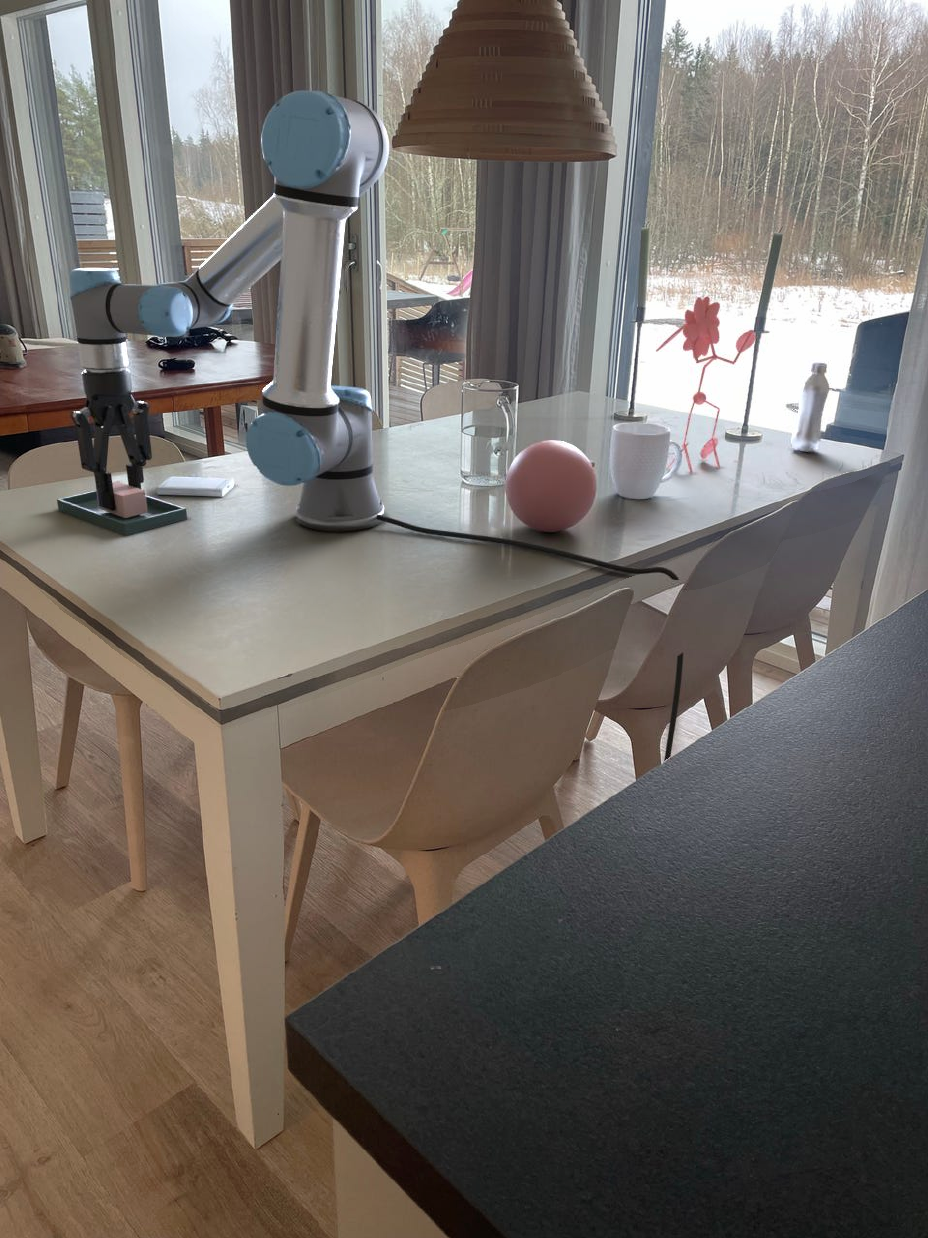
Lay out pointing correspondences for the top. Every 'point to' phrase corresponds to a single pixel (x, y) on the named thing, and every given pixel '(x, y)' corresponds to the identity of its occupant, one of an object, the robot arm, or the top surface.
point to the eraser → (126, 500)
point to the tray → (155, 517)
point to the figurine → (699, 338)
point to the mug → (641, 458)
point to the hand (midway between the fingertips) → (123, 504)
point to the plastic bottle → (811, 409)
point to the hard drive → (195, 486)
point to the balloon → (551, 486)
